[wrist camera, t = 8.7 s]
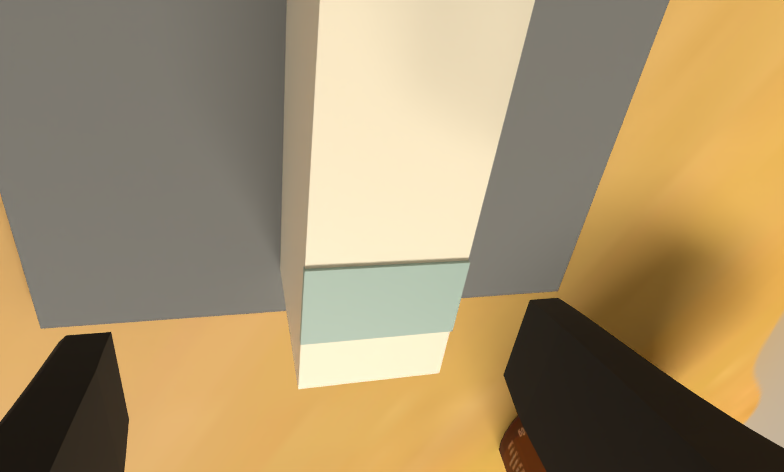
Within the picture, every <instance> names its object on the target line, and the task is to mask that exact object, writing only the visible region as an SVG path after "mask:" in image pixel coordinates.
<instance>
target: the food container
mask: <svg viewBox="0 0 784 472" xmlns="http://www.w3.org/2000/svg"><path fill="white" fill-rule="evenodd" d="M499 451H500V454H501V457H502V460H503V463H504V465H505V468H506V471H507V472H546V470H545V468H544V466H543V464H542V462H541V460H540V458H539V456H538V455H537V453H536V451H535V449H534V447H533V445H532V443H531V441H530V439H529V437H528V435H527V433H526V431H525V429H524V427H523V425H522V423H521V421H520V418H519V415H518V416H517V418H516V419H515V420H514V421H513V422H512V423H511V425H510V426H509V428H508V429H507V431H506V432H505V434H504V436H503V438H502V441H501V444H500V448H499Z"/></svg>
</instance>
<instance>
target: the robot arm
mask: <svg viewBox="0 0 784 472" xmlns="http://www.w3.org/2000/svg"><path fill="white" fill-rule="evenodd" d="M504 377H505V380H506V383H507V386H508V389H509V392H510V394H511V397H512V400H513V403H514V405H515V408H516V410H517V413H518V415H519V418H520V421H521V423H522V425H523V427H524V429H525V431H526V433H527V435H528V437H529V439H530V441H531V443H532V445H533V447H534V449H535V451H536V453H537V455H538V456H539V458H540V460H541V462H542V464H543V466H544V468H545V470H546V472H784V448H782V447H780V446H779V445H777V444H775V443H774V442H772V441H770V440H768V439H767V438H765V437H763V436H762V435H760V434H758V433H756V432H755V431H753V430H751V429H749V428H748V427H746V426H745V425H743V424H742V423H740V422H738V421H737V420H735V419H733V418H732V417H730V416H729V415H727V414H726V413H724V412H723V411H721V410H719V409H718V408H716V407H715V406H713V405H712V404H710V403H709V402H707V401H706V400H704V399H702V398H701V397H699V396H698V395H696V394H695V393H693V392H692V391H690V390H689V389H687V388H686V387H684V386H683V385H682V384H680V383H679V382H677V381H676V380H674V379H673V378H671V377H670V376H668V375H667V374H666V373H664V372H663V371H661V370H660V369H658V368H657V367H656V366H654V365H653V364H651V363H650V362H648V361H647V360H646V359H644V358H643V357H641V356H640V355H639V354H637V353H636V352H634V351H633V350H632V349H630V348H629V347H628V346H626V345H625V344H623V343H622V342H621V341H619V340H618V339H616V338H615V337H614V336H612V335H611V334H610V333H608V332H607V331H605V330H604V329H603V328H601V327H600V326H599V325H597V324H596V323H594V322H593V321H591V320H590V319H589V318H587V317H586V316H584V315H583V314H582V313H580V312H579V311H577V310H576V309H574V308H573V307H571V306H570V305H568V304H567V303H565V302H564V301H562V300H561V299H559V298H550V299H537V300H530V301H529V304H528V307H527V310H526V313H525V315H524V318H523V321H522V324H521V327H520V330H519V333H518V335H517V338H516V341H515V344H514V347H513V350H512V352H511V355H510V358H509V361H508V364H507V367H506V369H505V372H504ZM128 424H129V417H128V413H127V408H126V403H125V398H124V393H123V388H122V383H121V378H120V373H119V368H118V364H117V359H116V354H115V349H114V344H113V339H112V334H111V332H106V333H93V334H80V335H67V336H65V337H64V338H63V339H62V340H61V341H60V342H59V343H58V344H57V346H56V347H55V348H54V350H53V351H52V353H51V354H50V356H49V357H48V358H47V360H46V361H45V363H44V364H43V365H42V367H41V368H40V370H39V371H38V372H37V374H36V375H35V376H34V378H33V379H32V381H31V382H30V383H29V385H28V386H27V387H26V389H25V390H24V391H23V393H22V394H21V395H20V397H19V398H18V399H17V401H16V402H15V403H14V405H13V406H12V407H11V409H10V410H9V411H8V413H7V414H6V415H5V416H4V418H3V419H2V420H1V422H0V472H124V468H125V458H126V447H127V435H128Z"/></svg>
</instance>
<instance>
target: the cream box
mask: <svg viewBox="0 0 784 472" xmlns="http://www.w3.org/2000/svg"><path fill="white" fill-rule="evenodd" d="M534 3H535V0H287V11H286V52H285V93H284V134H283V175H282V215H281V256H280V271H281V278H282V285H283V291H284V298H285V304H286V311H287V318H288V324H289V331H290V338H291V344H292V351H293V357H294V364H295V371H296V377H297V384H298V389H303V388H312V387H320V386H329V385H338V384H347V383H356V382H364V381H373V380H382V379H391V378H400V377H408V376H417V375H426V374H435V373H439V371H440V367H441V364H442V360H443V356H444V352H445V348H446V344H447V340H448V336H449V333H450V331H453V327H454V323H455V319H456V315H457V311H458V308H459V304H460V300H461V296H462V292H463V288H464V285H465V281H466V277H467V273H468V269H469V266H470V262H469V260H468V259H469V255H470V251H471V247H472V243H473V239H474V236H475V232H476V228H477V224H478V220H479V216H480V212H481V208H482V205H483V201H484V197H485V193H486V189H487V185H488V181H489V177H490V174H491V170H492V166H493V162H494V158H495V154H496V150H497V146H498V142H499V139H500V135H501V131H502V127H503V123H504V119H505V115H506V111H507V108H508V104H509V100H510V96H511V92H512V88H513V84H514V80H515V77H516V73H517V69H518V65H519V61H520V57H521V53H522V49H523V46H524V42H525V38H526V34H527V30H528V26H529V22H530V18H531V14H532V11H533V7H534Z"/></svg>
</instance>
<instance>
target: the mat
mask: <svg viewBox="0 0 784 472" xmlns="http://www.w3.org/2000/svg"><path fill="white" fill-rule="evenodd" d="M668 3H669V0H535V3H534V7H533V11H532V14H531V18H530V22H529V26H528V30H527V34H526V38H525V42H524V46H523V49H522V53H521V57H520V61H519V65H518V69H517V73H516V77H515V80H514V84H513V88H512V92H511V96H510V100H509V104H508V108H507V111H506V115H505V119H504V123H503V127H502V131H501V135H500V139H499V142H498V146H497V150H496V154H495V158H494V162H493V166H492V170H491V174H490V177H489V181H488V185H487V189H486V193H485V197H484V201H483V205H482V208H481V212H480V216H479V220H478V224H477V228H476V232H475V236H474V239H473V243H472V247H471V251H470V255H469V259H468V260H469V262H470V266H469V269H468V273H467V277H466V281H465V285H464V288H463V292H462V296H461V298H470V297H483V296H497V295H511V294H525V293H539V292H552V291H558V289H559V287H560V284H561V282H562V279H563V276H564V274H565V271H566V269H567V266H568V263H569V261H570V258H571V255H572V253H573V250H574V248H575V245H576V242H577V240H578V237H579V235H580V232H581V229H582V227H583V224H584V222H585V219H586V216H587V214H588V211H589V209H590V206H591V203H592V201H593V198H594V196H595V193H596V190H597V188H598V185H599V183H600V180H601V177H602V175H603V172H604V170H605V167H606V164H607V162H608V159H609V157H610V154H611V151H612V149H613V146H614V143H615V141H616V138H617V136H618V133H619V130H620V128H621V125H622V123H623V120H624V117H625V115H626V112H627V110H628V107H629V104H630V102H631V99H632V97H633V94H634V91H635V89H636V86H637V84H638V81H639V78H640V76H641V73H642V71H643V68H644V65H645V63H646V60H647V58H648V55H649V52H650V50H651V47H652V45H653V42H654V39H655V37H656V34H657V31H658V29H659V26H660V24H661V21H662V18H663V16H664V13H665V11H666V8H667V5H668ZM286 11H287V0H0V194H1V197H2V200H3V204H4V207H5V210H6V214H7V217H8V220H9V224H10V227H11V230H12V234H13V237H14V240H15V244H16V247H17V251H18V254H19V257H20V261H21V264H22V267H23V271H24V274H25V277H26V281H27V284H28V287H29V291H30V294H31V297H32V301H33V304H34V307H35V311H36V314H37V317H38V321H39V324H40V328H41V329H42V328H56V327H70V326H83V325H97V324H111V323H125V322H139V321H152V320H166V319H180V318H194V317H208V316H221V315H235V314H249V313H263V312H276V311H286V304H285V298H284V291H283V285H282V278H281V271H280V256H281V215H282V175H283V134H284V93H285V52H286Z"/></svg>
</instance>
